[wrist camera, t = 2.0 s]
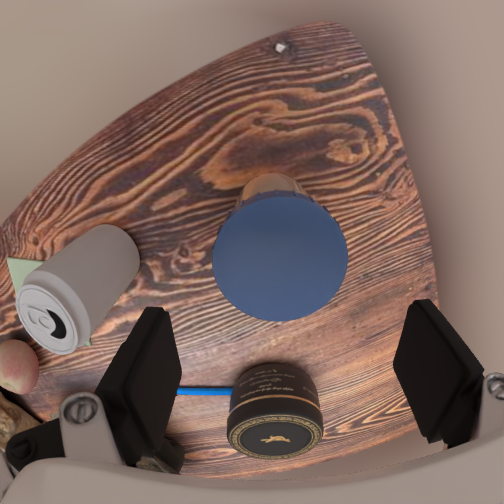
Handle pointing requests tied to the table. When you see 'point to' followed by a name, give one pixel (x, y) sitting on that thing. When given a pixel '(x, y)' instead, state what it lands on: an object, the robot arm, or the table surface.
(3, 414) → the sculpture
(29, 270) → the coaster
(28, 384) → the apple
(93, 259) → the beverage can
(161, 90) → the table surface
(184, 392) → the pen
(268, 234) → the jar lid
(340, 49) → the table surface
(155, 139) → the table surface
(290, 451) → the jar
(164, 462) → the stone bowl
